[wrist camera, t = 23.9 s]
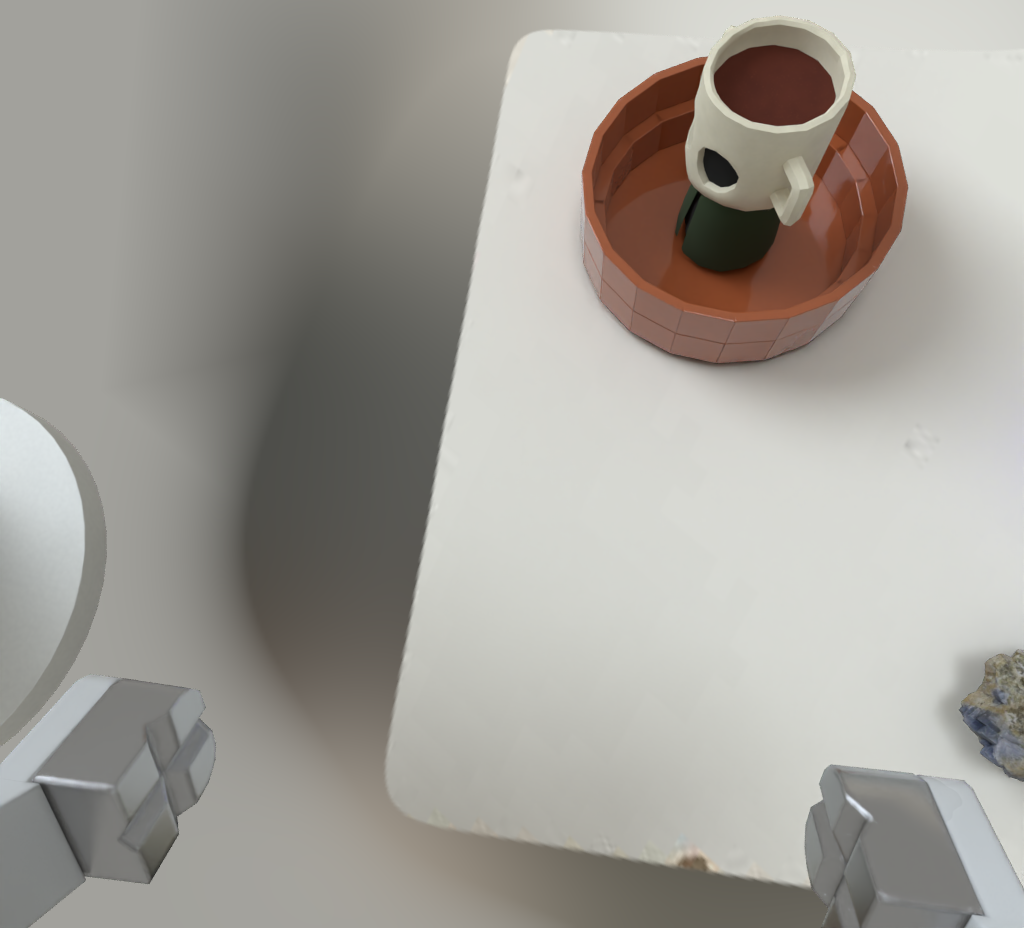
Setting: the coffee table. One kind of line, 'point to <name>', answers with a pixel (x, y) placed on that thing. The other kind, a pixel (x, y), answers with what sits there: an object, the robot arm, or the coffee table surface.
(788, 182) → the character mug
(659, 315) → the bowl
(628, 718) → the coffee table surface
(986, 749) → the rock
